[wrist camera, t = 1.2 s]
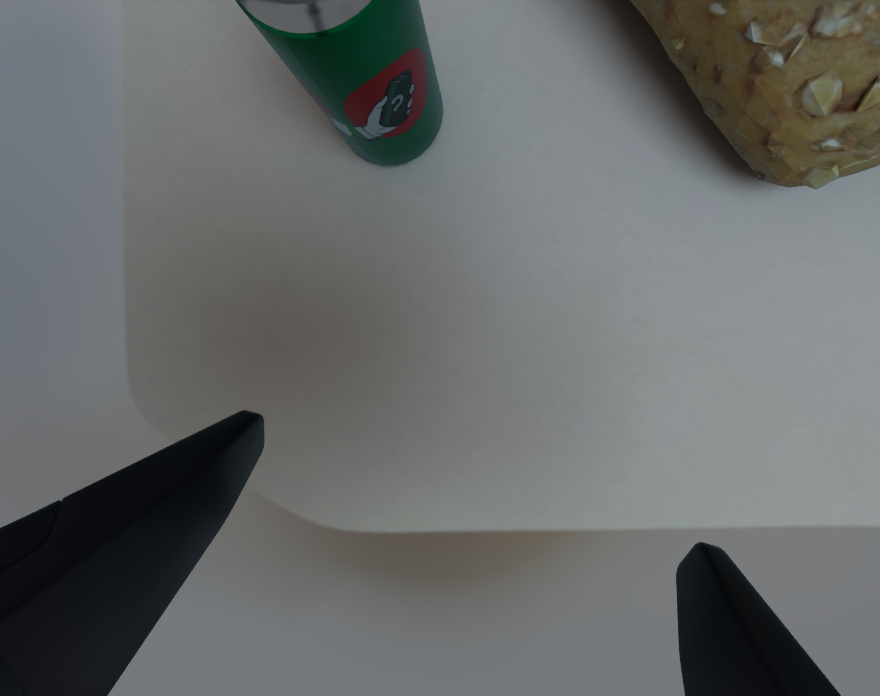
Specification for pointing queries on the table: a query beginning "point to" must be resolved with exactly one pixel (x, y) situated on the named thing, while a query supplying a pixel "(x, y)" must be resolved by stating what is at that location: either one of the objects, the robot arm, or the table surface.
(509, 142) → the table surface
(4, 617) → the robot arm
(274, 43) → the soda can
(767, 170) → the bread
